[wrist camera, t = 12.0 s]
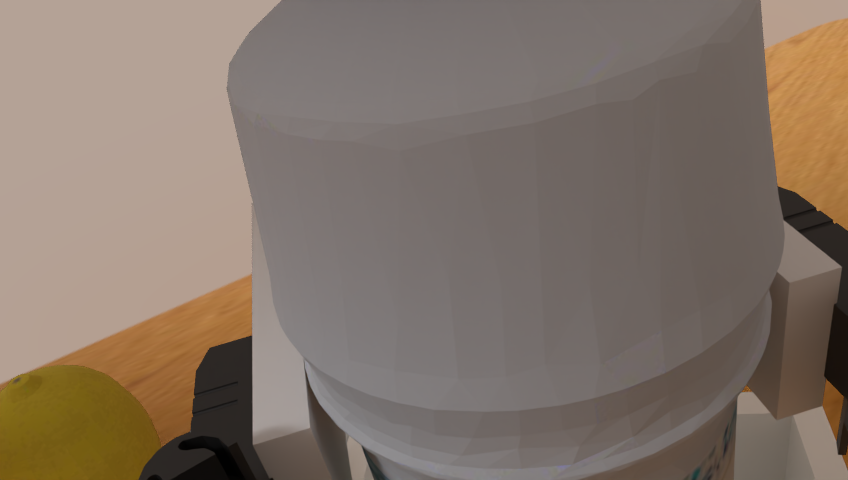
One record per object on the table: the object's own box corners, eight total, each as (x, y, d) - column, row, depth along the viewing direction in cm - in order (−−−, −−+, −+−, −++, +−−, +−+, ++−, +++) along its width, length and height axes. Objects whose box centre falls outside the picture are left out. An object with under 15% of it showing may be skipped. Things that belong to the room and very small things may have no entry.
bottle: (716, 943, 14) (827, -669, 3) (403, 783, 17) (-156, -250, 6) (757, 608, 18) (858, -470, 7) (506, 531, 21) (310, -301, 10)
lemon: (150, 447, 31) (62, 304, 27) (221, 511, 27) (132, 358, 23) (27, 544, 28) (-96, 400, 24) (88, 630, 24) (-43, 480, 20)
